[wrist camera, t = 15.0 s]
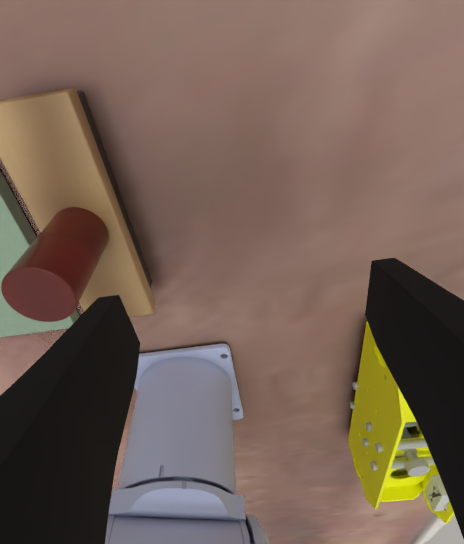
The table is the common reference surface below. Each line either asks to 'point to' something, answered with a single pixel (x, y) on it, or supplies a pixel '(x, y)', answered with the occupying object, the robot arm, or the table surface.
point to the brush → (68, 212)
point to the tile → (6, 252)
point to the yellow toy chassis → (390, 440)
